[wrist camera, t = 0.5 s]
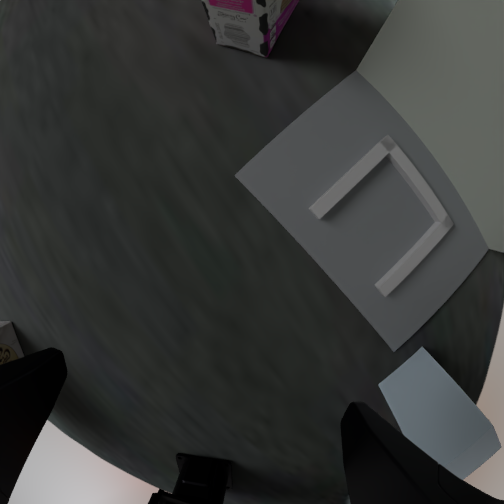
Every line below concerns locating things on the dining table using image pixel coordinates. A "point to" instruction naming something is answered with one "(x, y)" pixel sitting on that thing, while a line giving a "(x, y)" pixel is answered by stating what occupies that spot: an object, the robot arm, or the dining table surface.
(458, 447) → the tall gray box
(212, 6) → the candy bar box
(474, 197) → the white open shelf
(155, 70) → the dining table surface
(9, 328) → the coffee box
